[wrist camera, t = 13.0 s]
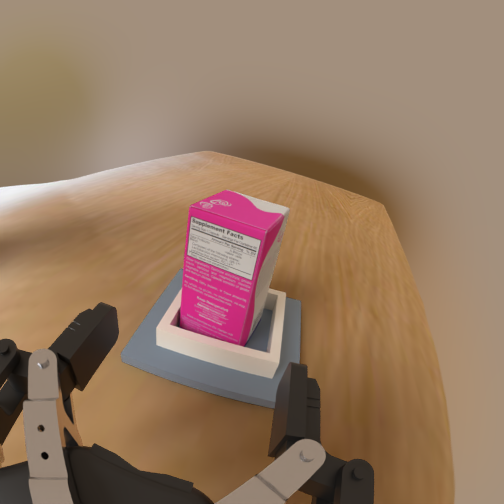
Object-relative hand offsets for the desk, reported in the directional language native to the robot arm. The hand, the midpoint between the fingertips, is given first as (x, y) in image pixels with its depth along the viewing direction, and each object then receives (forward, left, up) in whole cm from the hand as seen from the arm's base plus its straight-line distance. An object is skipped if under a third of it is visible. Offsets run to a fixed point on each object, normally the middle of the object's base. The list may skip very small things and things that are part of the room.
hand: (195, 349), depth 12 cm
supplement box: (0, +11, -9) cm, 14 cm away
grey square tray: (0, +11, -9) cm, 14 cm away
